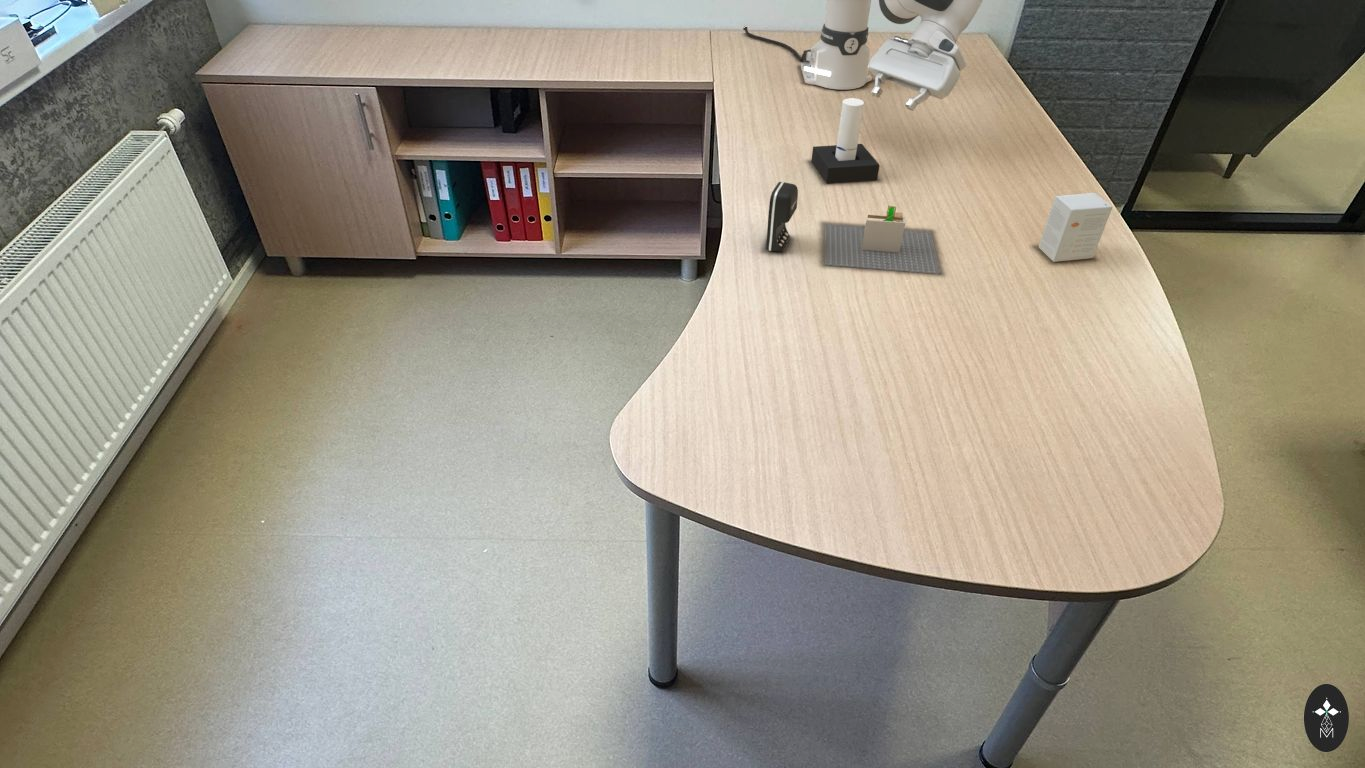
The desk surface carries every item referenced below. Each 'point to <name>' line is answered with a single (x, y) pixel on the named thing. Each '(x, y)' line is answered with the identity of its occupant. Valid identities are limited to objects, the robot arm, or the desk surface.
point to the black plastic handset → (780, 215)
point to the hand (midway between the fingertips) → (891, 102)
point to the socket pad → (844, 165)
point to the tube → (849, 129)
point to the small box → (1074, 226)
